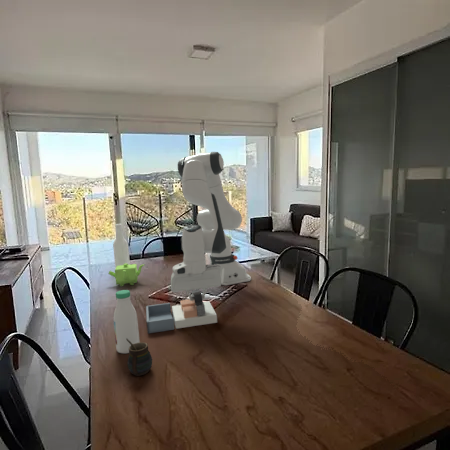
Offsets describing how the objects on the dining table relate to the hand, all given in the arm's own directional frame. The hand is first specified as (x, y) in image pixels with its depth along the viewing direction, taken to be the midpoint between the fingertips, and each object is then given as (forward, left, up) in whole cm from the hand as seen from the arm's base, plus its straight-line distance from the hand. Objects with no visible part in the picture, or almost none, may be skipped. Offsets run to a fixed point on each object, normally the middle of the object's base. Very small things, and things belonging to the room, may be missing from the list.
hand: (197, 299), depth 140 cm
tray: (+15, 0, -7) cm, 17 cm away
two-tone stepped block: (0, 0, -4) cm, 4 cm away
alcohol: (+34, -88, -8) cm, 95 cm away
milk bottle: (+27, +18, -8) cm, 33 cm away
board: (+2, 0, -7) cm, 8 cm away
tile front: (+4, +4, -4) cm, 7 cm away
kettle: (+30, -59, -8) cm, 67 cm away
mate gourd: (+23, +34, -8) cm, 42 cm away
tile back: (+4, -4, -4) cm, 7 cm away
